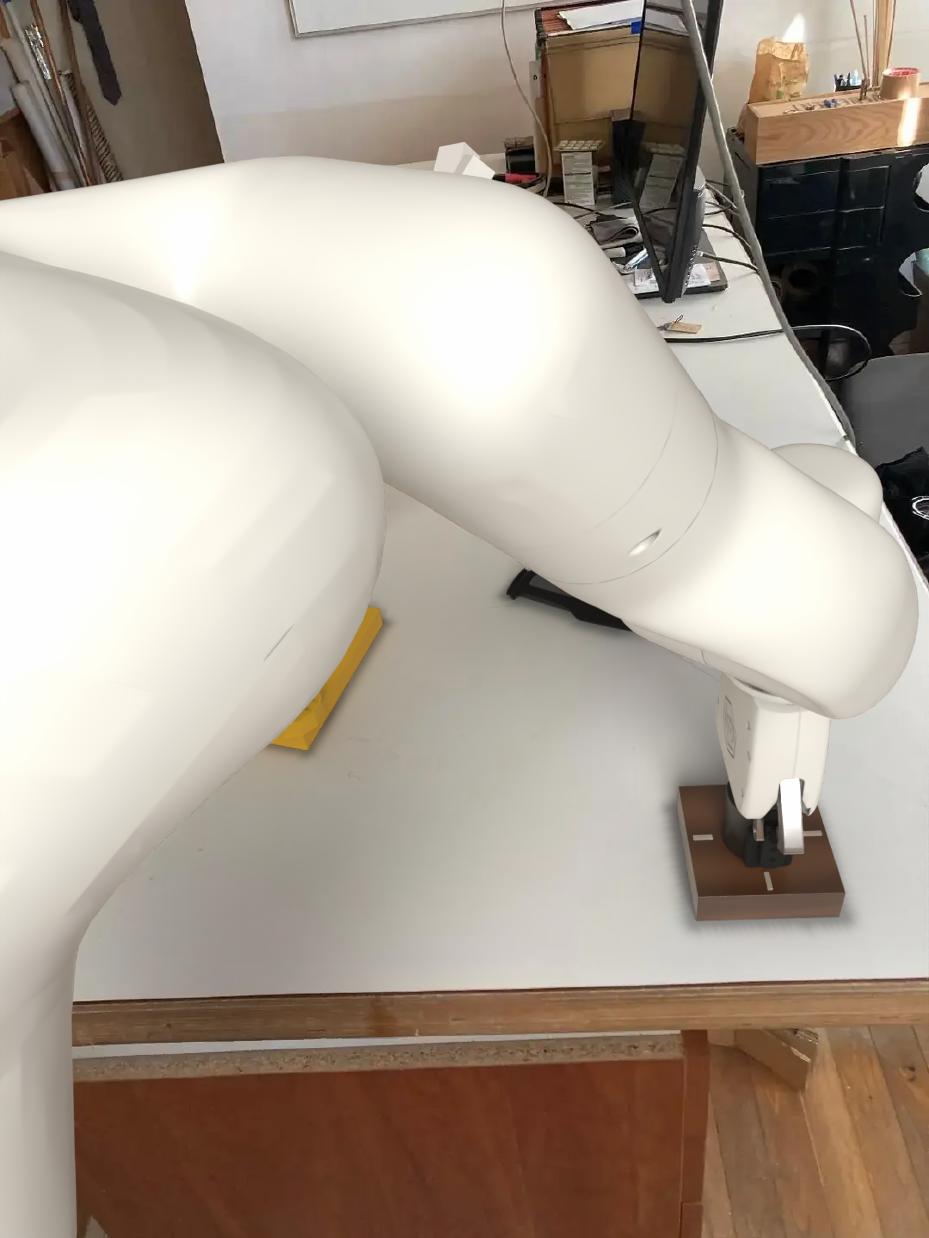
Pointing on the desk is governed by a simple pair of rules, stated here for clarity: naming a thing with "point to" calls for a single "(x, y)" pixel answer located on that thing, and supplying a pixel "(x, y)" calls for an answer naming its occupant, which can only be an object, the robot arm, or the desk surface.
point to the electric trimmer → (560, 599)
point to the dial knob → (737, 824)
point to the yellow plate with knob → (331, 687)
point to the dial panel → (753, 891)
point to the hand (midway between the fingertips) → (757, 828)
